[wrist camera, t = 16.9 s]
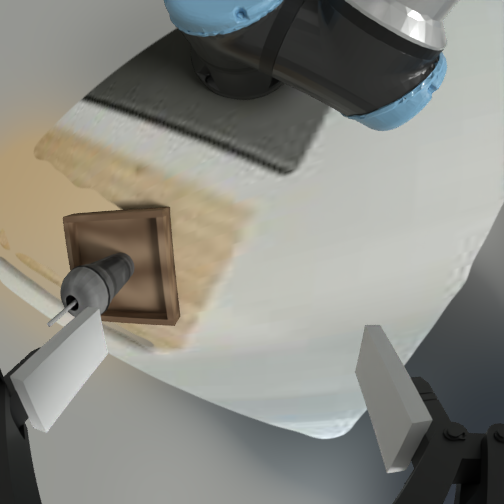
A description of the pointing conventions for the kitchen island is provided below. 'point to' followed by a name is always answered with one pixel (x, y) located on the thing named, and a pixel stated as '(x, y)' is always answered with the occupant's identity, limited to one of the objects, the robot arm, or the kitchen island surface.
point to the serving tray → (141, 252)
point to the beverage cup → (94, 284)
